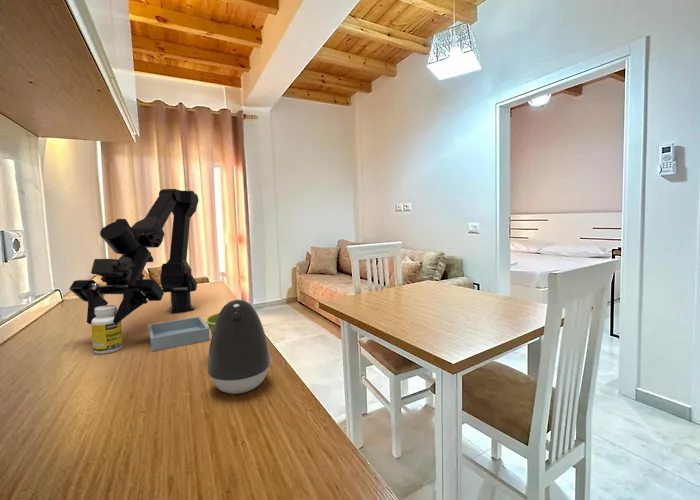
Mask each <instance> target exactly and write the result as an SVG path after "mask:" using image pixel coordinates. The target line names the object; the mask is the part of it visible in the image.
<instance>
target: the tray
mask: <svg viewBox="0 0 700 500" xmlns="http://www.w3.org/2000/svg"><path fill="white" fill-rule="evenodd" d="M147 327H148V339H149V344H150V350H151V352H157V351H161V350H167V349H172V348H178V347H182V346H187V345H192V344H193V345H194V344H197V343H203V342H207V341H211V338H210V329H209V326H208V324H207V323H206V321H204V320H203V318H202V317H201V316H194V317H189V318H188V317H187V318H181V319H175V320H169V321H163V322H161V321H160V322H157V323H156V322H155V323H151V324H148V325H147Z"/></svg>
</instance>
